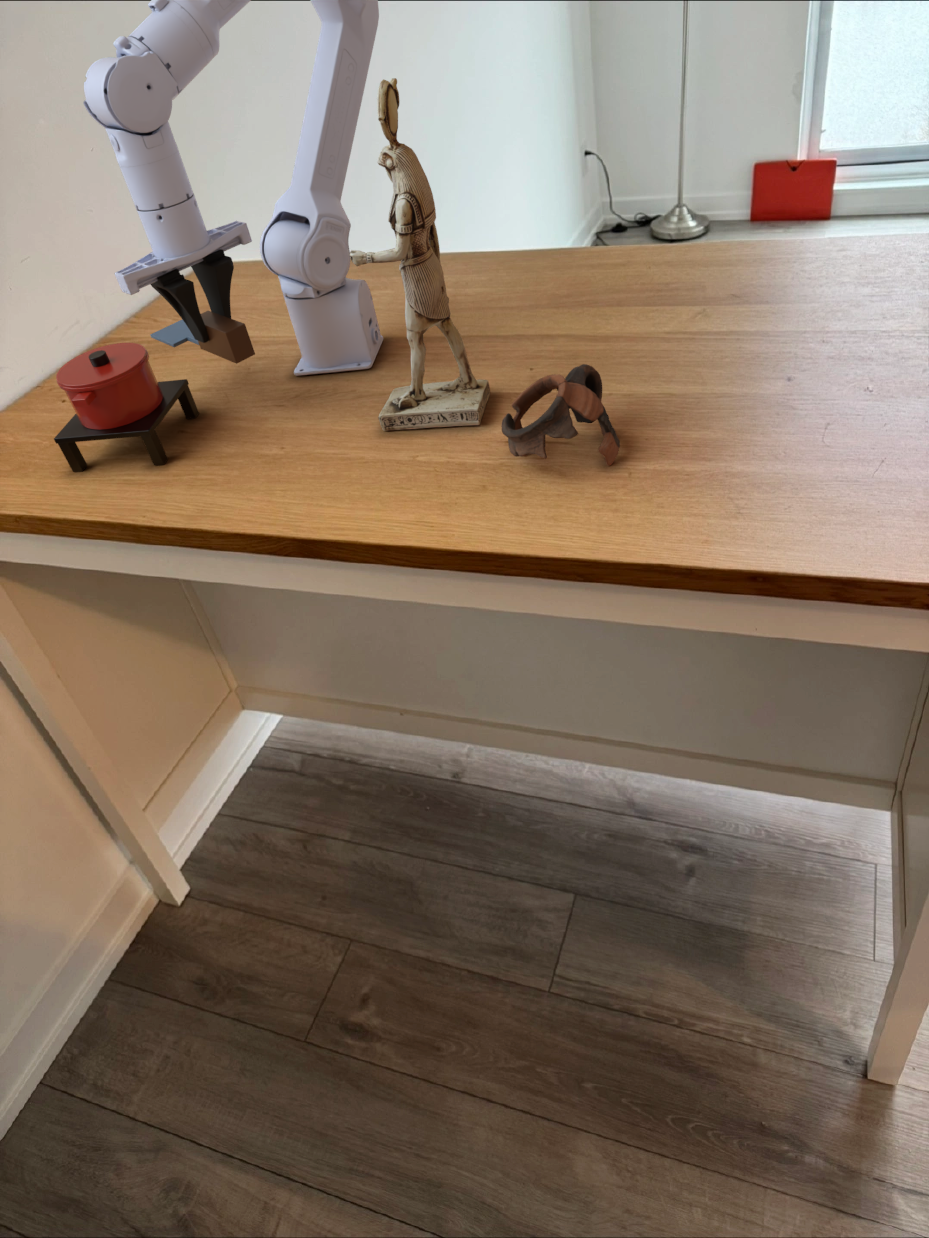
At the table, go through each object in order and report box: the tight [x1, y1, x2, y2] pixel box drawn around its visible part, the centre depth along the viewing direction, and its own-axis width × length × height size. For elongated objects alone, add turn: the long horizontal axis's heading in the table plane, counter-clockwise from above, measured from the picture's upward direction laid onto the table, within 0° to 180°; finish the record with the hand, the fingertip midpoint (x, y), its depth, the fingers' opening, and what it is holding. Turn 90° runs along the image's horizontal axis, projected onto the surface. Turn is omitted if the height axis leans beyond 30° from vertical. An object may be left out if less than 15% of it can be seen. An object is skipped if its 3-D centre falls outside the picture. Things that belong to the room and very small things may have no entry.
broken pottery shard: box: [501, 363, 621, 466], centre depth 80 cm, size 12×10×8 cm
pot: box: [53, 342, 200, 473], centre depth 93 cm, size 11×12×10 cm
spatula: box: [149, 310, 256, 365], centre depth 95 cm, size 16×5×3 cm, turn 44°
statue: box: [350, 77, 491, 432], centre depth 81 cm, size 7×10×30 cm
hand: (214, 334), depth 94 cm, fingers closed on spatula, 2 cm apart
